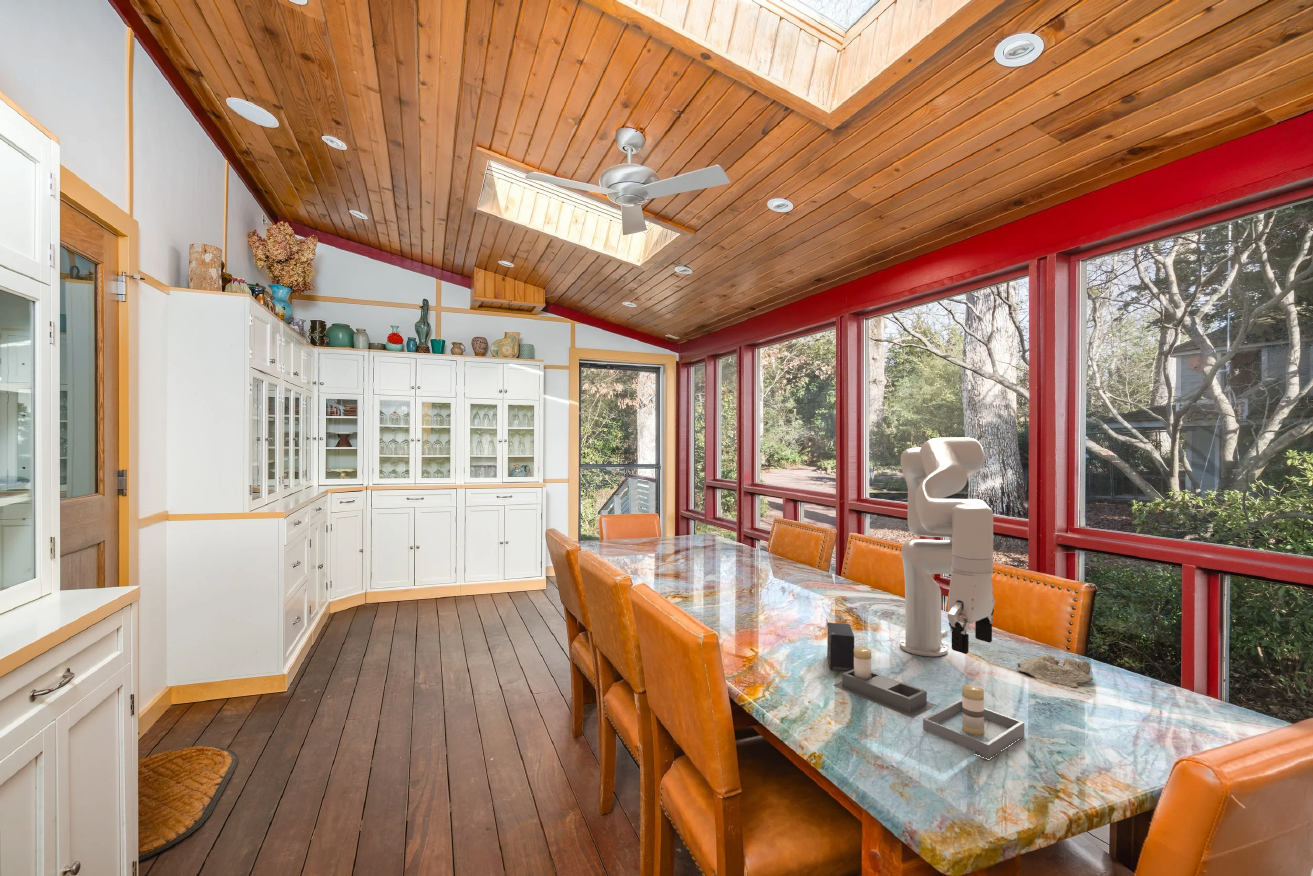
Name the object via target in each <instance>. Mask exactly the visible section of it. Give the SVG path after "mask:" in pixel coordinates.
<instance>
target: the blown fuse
mask: <svg viewBox="0 0 1313 876" xmlns="http://www.w3.org/2000/svg"><path fill="white" fill-rule="evenodd" d="M961 700H962V710H961V711H962V713H961V717H962V718H961V721H962V722H961V724H962V727H961V729H962V730H963V731H964V732H965V733H966V734H968V735H973V736H982V735H984V734H985V719H984V708H985V689H984V688H983V687H981V686H978V685H976V684H975V685H973V684H963V685H962V686H961Z"/></svg>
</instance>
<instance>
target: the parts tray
mask: <svg viewBox="0 0 1313 876" xmlns="http://www.w3.org/2000/svg"><path fill="white" fill-rule="evenodd" d="M961 711H962V698H961V699H958V700H957V701H955V702H953V703H951V704H949V705H947V706H945V707H943V708H941V709H939V710H937V711H936V712H933V713H931V714H930V715H927V716H926V717H924V718H922V729H923V730H925V731H928V732H930V733H933V734H935V735H938V736H939V737H942V738H944V739H947V740H949V741H952V742H954V743H955V744H958V745H961V746H963V747H966V748H969V749H971V750H973V751H975V752H974V753H975V754H977V755H980V756H981V757H984V758H987V759H990V758H991V757H993V756H995V755H996V754H998V753H1000V752H1001V750H1003V749H1005V748H1006V747H1008V746H1009V745H1011V744H1012V743H1014V742H1015V741H1017V740H1018V739H1020V738H1021V737H1023V736H1024V737H1025V721H1022V720H1019V719H1017V718H1014V717H1011V716H1008V715H1006V714H1002V713H1000V712H997V711H994V710H992V709H989V708H985V707H984V720H987V721H989V722H992V723H995V724H998V725H1000V726H1003V727H1005V728H1008V729H1006V730H1005V731H1003V732H1002V733H1000V734H999V735H997V736H995V737H994V738H992V739H991V740H989V741H987V742H985V741H983V740H981V739H978V738H976V737H973V736H970V735H969V734H967V733H966V734H965V733H963V732H961V731H958V730H955V729H953V728H950V727H948V726H946V725H943V724H940V723H941V722H943V721H944V720H945V721H946V719H949V718H950V717H952V716H954V715H956V714H958V713H959V712H961ZM1024 737H1023V738H1024ZM1020 740H1021V739H1020ZM1017 742H1018V741H1017ZM1014 744H1015V743H1014ZM1011 746H1012V745H1011ZM1008 748H1009V747H1008ZM1005 750H1006V749H1005ZM1001 753H1002V752H1001ZM1001 753H1000V754H1001ZM998 755H999V754H998ZM981 757H980V758H981ZM995 757H996V756H995Z"/></svg>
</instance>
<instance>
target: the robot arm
mask: <svg viewBox="0 0 1313 876" xmlns="http://www.w3.org/2000/svg"><path fill="white" fill-rule="evenodd" d="M984 463H985V452H984V448H983V447H982V444H981V443H980V442H979V441H978V439H975V438H972V437H936V438H935V437H934V438H931V439H927V440H926V441H925V442H923V444H922V445H921V447H912V448H911V447H910V448H907V449H905V450H904V451H903V452H901V456H900V468H901V472H902V474H903V477H904V480H905V482H906V487H907V527H908V531H909V532H910V533H911V534H912V535H914V536H918V537H930V538H931V537H932V538H949V539H948V540H944V539H943V540H942V539H941V540H939V539H911V540H907V541H906V542H905V543H904V544H902V546H901V551H900V552H901V560H902V568H903V573H904V605H905V607H904V610H905V612H904V614H905V615H904V619H905V621H904V623H905V625H904V629H905V633H904V635H905V637H904V638H903V639H901V640H900V641H899V647H900V649H901V650H903V651H905V652H907V653H910V654H913V655H917V656H922V657H941V656H944V655H947V653H948V647H947V645H946V644H944V643H942V640H943V639H944V638H947V636H948V632H947V631H946V630H942V590H941V588H940V585H939V584H938V582H937V581H936V580H935V579H934V578H933V577H932V575H950V581H949V589H948V601H947V604H948V605H947V606H948V607H947V619H948V625H949V627H950V628H949V629H950V632H951V650H952V651H955V652H959V653H960V654H961V653H962V654H965V655H967V654H968V653H969V652H970V651H969V640H970V639H969V636H970V635H969V633H967V632H968V629H969V628H970V627H969V626H970V624H974V623H975V626H974V627H975V629H974V630H975V635H974V636H975V639H976V640H979V641H982V642H985V643H992V642H993V622H994V618H993V614H994V613H995V612H994V611H995V610H994V607H995V604H996V599H995V598H994V588H993V578H992V575H993V574H994V512H993V509H992V508H991V507H990V506H989V505H988V504H987V502H985V501H984V500H982V499H977V498H948V497H949V496H952V495H955V494H958V493H960V491H962V489H964V487H966V485H967V482H968V478H970V477H971V476H973V475H974V474H976V473H978V472H979V471H980V470H981V469H982V467H983V466H984ZM962 623H963V625H962Z"/></svg>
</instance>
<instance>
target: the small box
mask: <svg viewBox="0 0 1313 876" xmlns="http://www.w3.org/2000/svg"><path fill="white" fill-rule="evenodd" d="M826 625H827V642H826V643H827V646H826V647H827V648H826V649H827V650H826V653H827V656H826V657H827V663H828V668H829V670H830V671H833V672H847V671H850V670H853V669H854V648H855V635H854V632H853V629H852V627H851V624H850V623H839V622H829V621H828V622H827V624H826Z"/></svg>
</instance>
